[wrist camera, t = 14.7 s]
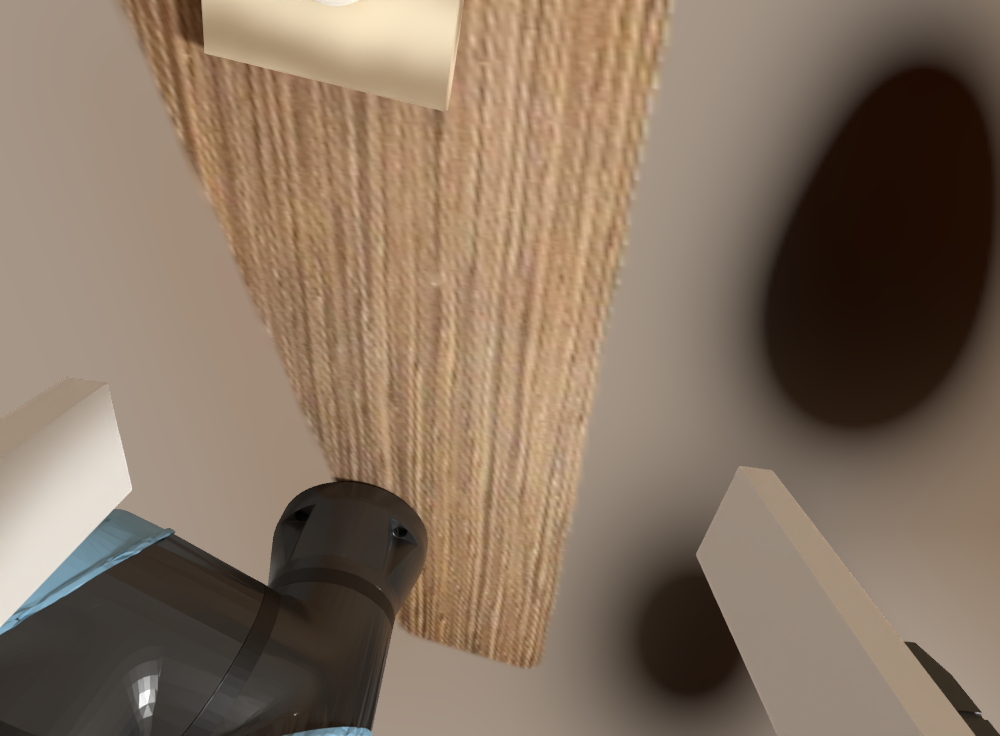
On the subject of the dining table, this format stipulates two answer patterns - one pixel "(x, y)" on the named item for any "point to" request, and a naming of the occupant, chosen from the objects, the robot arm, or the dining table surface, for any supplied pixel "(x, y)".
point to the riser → (345, 43)
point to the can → (336, 2)
